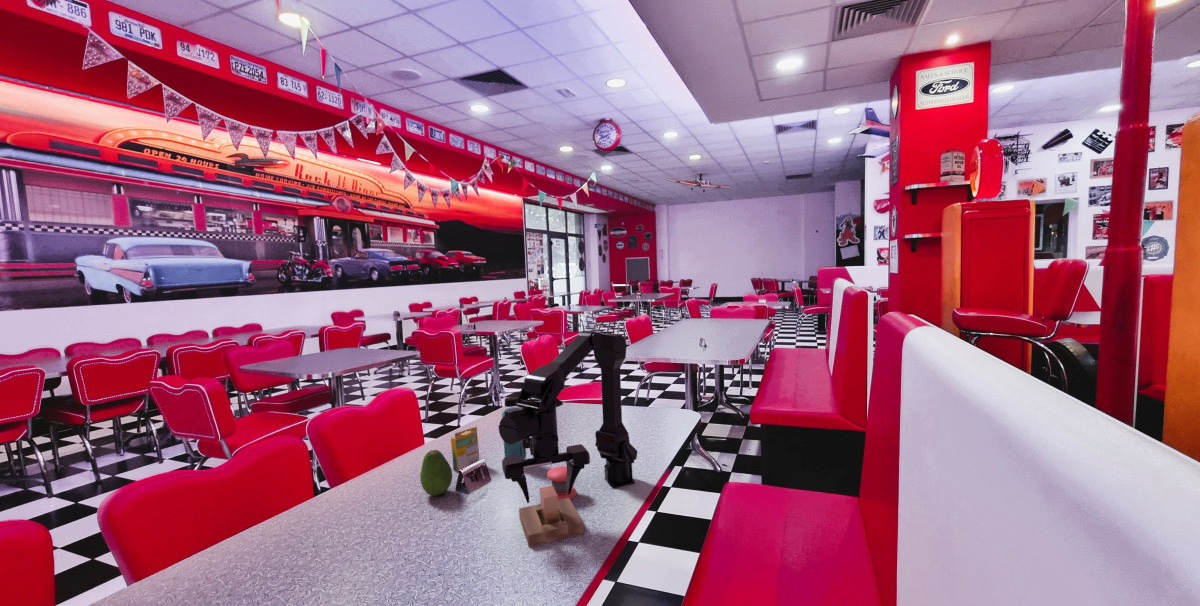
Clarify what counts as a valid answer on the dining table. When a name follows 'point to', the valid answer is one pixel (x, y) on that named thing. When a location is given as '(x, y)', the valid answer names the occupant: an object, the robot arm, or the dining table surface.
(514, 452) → the beverage bottle
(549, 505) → the reddish brown block
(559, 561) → the dining table surface
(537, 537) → the board with rectangular hole
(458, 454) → the crayon box
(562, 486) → the spool
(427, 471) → the avocado
